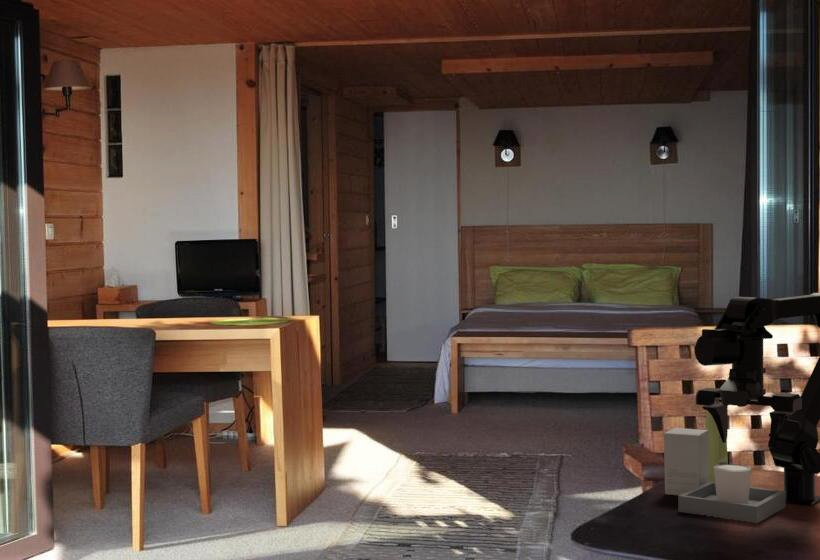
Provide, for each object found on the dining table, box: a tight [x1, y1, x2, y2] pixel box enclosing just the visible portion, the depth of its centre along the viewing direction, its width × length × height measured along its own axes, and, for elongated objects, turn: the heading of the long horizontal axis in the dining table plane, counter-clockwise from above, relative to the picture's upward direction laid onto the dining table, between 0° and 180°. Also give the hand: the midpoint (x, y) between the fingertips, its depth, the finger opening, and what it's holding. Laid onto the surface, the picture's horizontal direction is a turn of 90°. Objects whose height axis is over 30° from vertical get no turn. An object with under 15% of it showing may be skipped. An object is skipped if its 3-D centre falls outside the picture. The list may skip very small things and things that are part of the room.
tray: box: [677, 482, 787, 524], centre depth 200 cm, size 15×15×3 cm
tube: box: [704, 410, 729, 482], centre depth 225 cm, size 6×5×20 cm
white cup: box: [714, 463, 752, 504], centre depth 200 cm, size 7×7×7 cm
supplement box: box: [663, 427, 710, 496], centre depth 214 cm, size 7×7×13 cm
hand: (748, 444), depth 201 cm, fingers open, 9 cm apart
